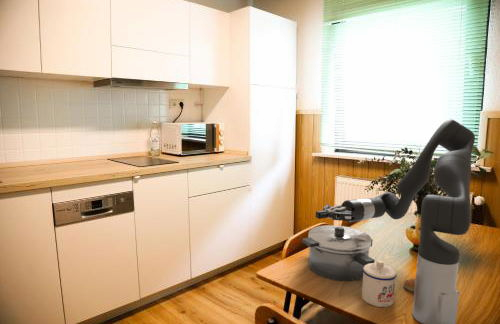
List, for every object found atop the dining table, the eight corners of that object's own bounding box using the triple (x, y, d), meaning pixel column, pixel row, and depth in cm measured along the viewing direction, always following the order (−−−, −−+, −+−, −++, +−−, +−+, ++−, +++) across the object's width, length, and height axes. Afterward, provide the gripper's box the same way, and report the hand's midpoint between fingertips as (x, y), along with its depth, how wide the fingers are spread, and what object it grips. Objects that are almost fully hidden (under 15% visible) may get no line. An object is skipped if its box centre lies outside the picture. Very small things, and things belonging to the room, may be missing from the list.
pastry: (405, 293, 102) (406, 281, 102) (401, 283, 109) (402, 272, 108) (439, 298, 100) (441, 286, 99) (433, 287, 106) (434, 276, 106)
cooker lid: (384, 246, 112) (385, 234, 111) (325, 257, 102) (326, 245, 102) (343, 226, 131) (343, 216, 130) (289, 234, 121) (290, 224, 121)
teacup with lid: (381, 311, 92) (384, 271, 91) (354, 296, 100) (356, 259, 98) (406, 299, 99) (410, 261, 97) (379, 285, 106) (382, 250, 105)
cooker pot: (398, 280, 110) (400, 251, 108) (342, 294, 101) (344, 262, 99) (337, 246, 137) (339, 222, 136) (289, 254, 128) (290, 229, 127)
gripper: (345, 195, 124) (306, 199, 117) (372, 204, 112) (329, 209, 105) (344, 214, 125) (305, 220, 118) (370, 226, 113) (328, 232, 106)
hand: (316, 215), depth 112 cm, fingers closed
